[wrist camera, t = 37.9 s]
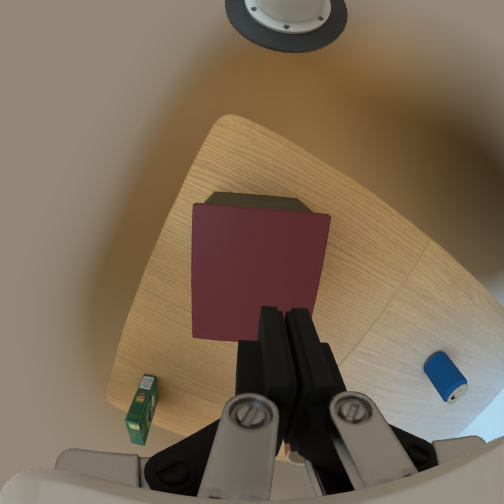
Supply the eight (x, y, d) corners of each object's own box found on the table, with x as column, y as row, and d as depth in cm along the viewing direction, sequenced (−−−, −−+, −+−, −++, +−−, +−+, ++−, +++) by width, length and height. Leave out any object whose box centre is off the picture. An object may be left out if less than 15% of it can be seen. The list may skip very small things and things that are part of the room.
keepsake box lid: (194, 202, 23) (192, 204, 22) (328, 214, 24) (331, 216, 23) (193, 333, 28) (192, 338, 27) (303, 340, 28) (305, 344, 28)
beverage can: (417, 370, 51) (440, 405, 39) (433, 348, 49) (460, 382, 37) (433, 372, 52) (456, 405, 40) (448, 351, 50) (474, 382, 38)
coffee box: (142, 372, 49) (123, 421, 36) (156, 375, 49) (139, 425, 36) (146, 397, 51) (130, 443, 39) (158, 399, 51) (145, 447, 39)
